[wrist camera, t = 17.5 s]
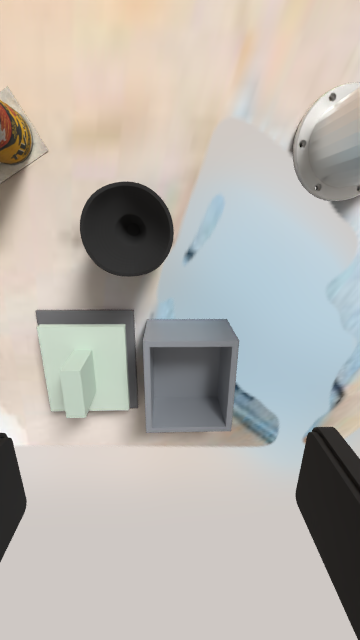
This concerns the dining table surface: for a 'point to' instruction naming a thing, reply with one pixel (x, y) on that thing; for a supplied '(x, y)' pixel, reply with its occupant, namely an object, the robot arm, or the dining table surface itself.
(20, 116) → the condiment
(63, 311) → the dark grey flat plate
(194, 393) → the tub
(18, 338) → the dining table surface
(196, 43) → the dining table surface
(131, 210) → the pen holder
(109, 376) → the green slab
